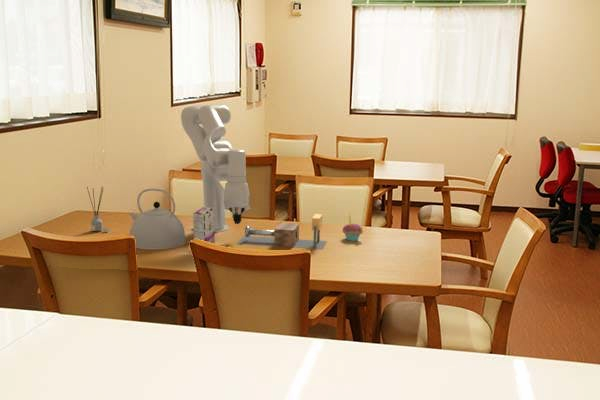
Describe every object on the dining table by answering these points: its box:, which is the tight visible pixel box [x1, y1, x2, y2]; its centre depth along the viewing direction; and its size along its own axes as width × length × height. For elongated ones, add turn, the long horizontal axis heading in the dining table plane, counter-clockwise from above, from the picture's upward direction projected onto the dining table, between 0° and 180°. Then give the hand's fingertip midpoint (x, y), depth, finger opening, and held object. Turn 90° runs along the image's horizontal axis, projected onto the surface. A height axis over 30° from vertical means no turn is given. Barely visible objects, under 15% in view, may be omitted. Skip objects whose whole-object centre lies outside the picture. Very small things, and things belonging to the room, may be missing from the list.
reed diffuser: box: [86, 186, 109, 233], centre depth 284 cm, size 10×7×20 cm
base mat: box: [235, 235, 328, 250], centre depth 271 cm, size 36×13×1 cm, turn 80°
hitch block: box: [273, 222, 321, 248], centre depth 269 cm, size 17×12×9 cm
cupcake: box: [342, 214, 364, 242], centre depth 278 cm, size 9×8×12 cm
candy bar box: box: [193, 206, 216, 244], centre depth 258 cm, size 11×5×16 cm, turn 168°
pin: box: [244, 225, 274, 237], centre depth 272 cm, size 15×5×5 cm, turn 80°
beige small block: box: [311, 213, 323, 231], centre depth 267 cm, size 3×8×5 cm, turn 170°
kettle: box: [128, 188, 186, 251], centre depth 268 cm, size 25×23×22 cm
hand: (237, 223), depth 272 cm, fingers closed
